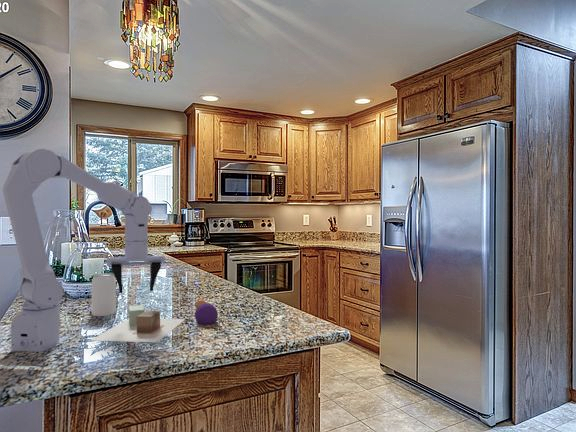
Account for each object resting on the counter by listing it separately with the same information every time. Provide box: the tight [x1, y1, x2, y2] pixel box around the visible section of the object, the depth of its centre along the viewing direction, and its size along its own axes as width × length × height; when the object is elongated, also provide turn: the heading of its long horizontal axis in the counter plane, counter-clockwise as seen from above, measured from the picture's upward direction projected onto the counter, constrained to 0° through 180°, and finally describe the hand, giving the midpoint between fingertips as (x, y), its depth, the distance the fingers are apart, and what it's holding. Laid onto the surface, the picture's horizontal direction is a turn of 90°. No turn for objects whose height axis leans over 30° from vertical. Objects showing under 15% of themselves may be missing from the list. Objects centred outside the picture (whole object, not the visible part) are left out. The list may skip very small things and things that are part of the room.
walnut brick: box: [137, 310, 161, 333], centre depth 103 cm, size 6×4×4 cm, turn 177°
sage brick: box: [128, 304, 145, 326], centre depth 109 cm, size 6×4×4 cm, turn 23°
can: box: [91, 272, 117, 317], centre depth 119 cm, size 6×6×12 cm
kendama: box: [194, 299, 218, 326], centre depth 116 cm, size 6×6×20 cm
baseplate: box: [89, 318, 186, 343], centre depth 103 cm, size 20×16×1 cm
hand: (136, 291), depth 109 cm, fingers open, 7 cm apart
